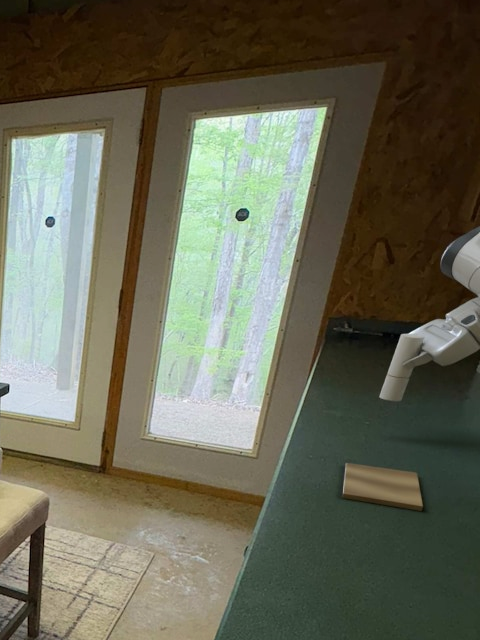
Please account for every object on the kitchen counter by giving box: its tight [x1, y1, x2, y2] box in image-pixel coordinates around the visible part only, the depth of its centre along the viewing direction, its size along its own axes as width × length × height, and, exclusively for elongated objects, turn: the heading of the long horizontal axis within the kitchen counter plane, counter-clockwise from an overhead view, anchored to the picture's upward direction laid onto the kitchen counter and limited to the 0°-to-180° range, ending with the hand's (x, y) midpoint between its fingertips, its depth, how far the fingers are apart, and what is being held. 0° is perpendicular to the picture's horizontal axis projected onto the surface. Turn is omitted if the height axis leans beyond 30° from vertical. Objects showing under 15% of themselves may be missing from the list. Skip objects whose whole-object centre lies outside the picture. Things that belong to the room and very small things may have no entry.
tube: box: [378, 333, 424, 402], centre depth 146 cm, size 4×4×15 cm
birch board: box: [341, 462, 424, 512], centre depth 125 cm, size 20×12×1 cm, turn 144°
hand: (399, 364), depth 146 cm, fingers closed on tube, 4 cm apart
